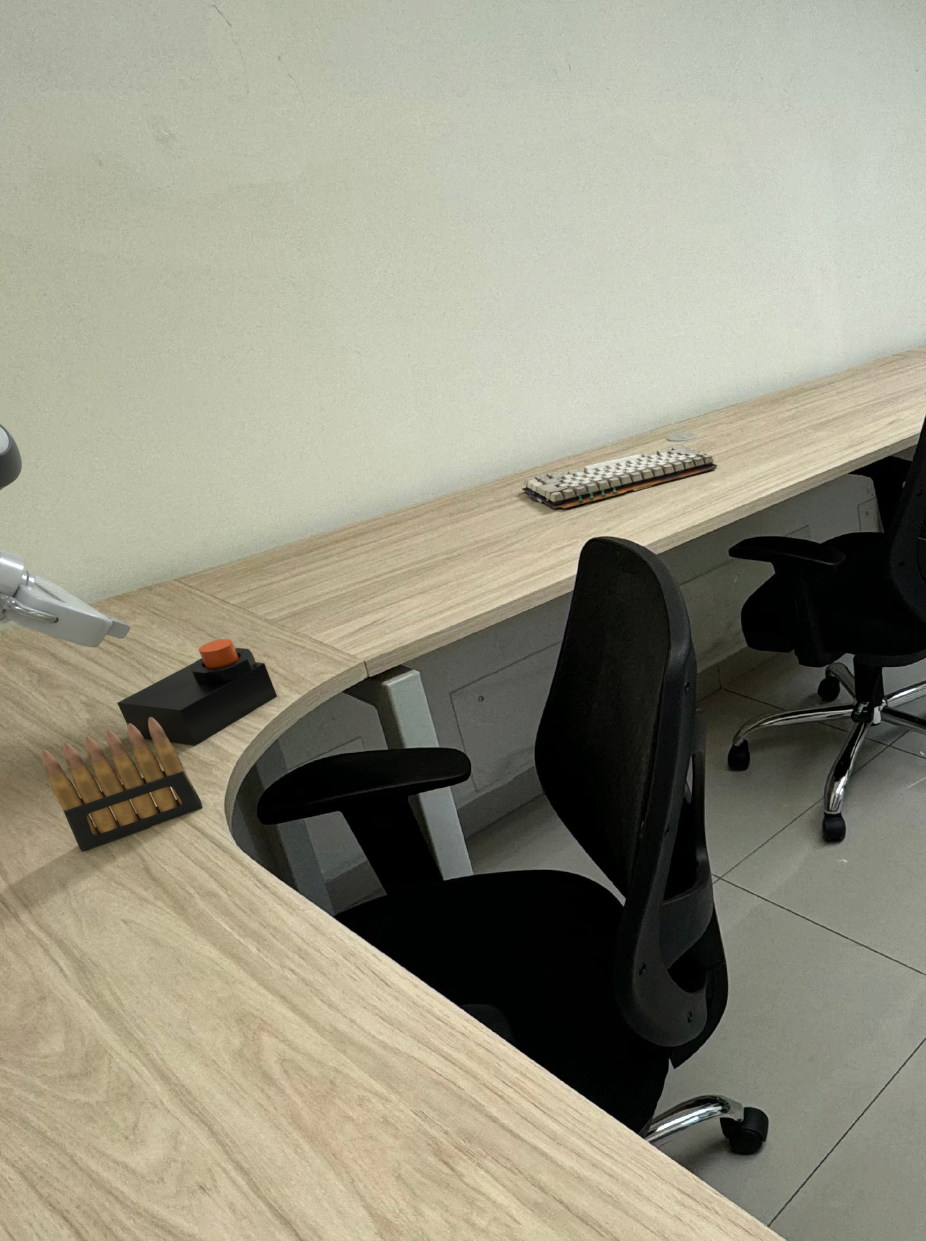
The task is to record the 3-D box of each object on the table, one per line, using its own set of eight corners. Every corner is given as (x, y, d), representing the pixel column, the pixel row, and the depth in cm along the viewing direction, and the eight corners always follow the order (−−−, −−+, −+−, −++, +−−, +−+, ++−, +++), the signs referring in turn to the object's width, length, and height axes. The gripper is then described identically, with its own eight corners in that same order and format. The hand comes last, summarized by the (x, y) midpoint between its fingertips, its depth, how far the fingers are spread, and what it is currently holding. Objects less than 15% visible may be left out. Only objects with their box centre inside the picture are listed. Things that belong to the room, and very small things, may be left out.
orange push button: (198, 668, 126) (191, 650, 125) (223, 654, 130) (216, 637, 129) (221, 670, 126) (213, 653, 125) (245, 657, 129) (238, 639, 128)
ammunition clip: (81, 851, 104) (30, 757, 99) (80, 843, 105) (31, 749, 100) (202, 808, 110) (161, 717, 105) (201, 801, 111) (160, 710, 106)
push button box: (133, 738, 124) (110, 690, 121) (220, 689, 135) (201, 644, 132) (197, 746, 122) (176, 697, 119) (280, 695, 133) (263, 650, 130)
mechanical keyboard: (679, 452, 230) (677, 438, 229) (721, 469, 218) (719, 454, 216) (518, 493, 208) (514, 478, 206) (555, 515, 195) (551, 499, 193)
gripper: (26, 579, 103) (170, 626, 114) (-28, 544, 114) (109, 589, 125) (-10, 634, 102) (140, 676, 113) (-60, 593, 113) (81, 634, 124)
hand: (123, 630), depth 119 cm, fingers closed
